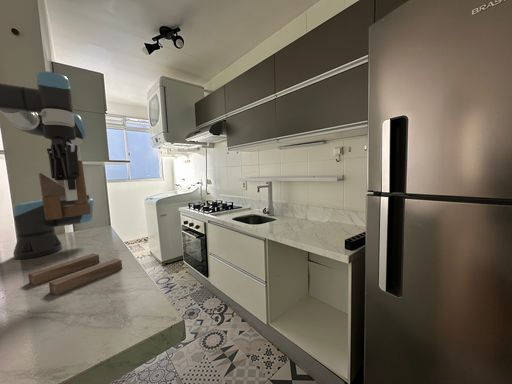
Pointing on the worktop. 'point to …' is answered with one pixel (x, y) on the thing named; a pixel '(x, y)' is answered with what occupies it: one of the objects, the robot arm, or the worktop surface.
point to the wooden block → (54, 189)
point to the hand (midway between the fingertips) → (68, 200)
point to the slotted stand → (77, 277)
